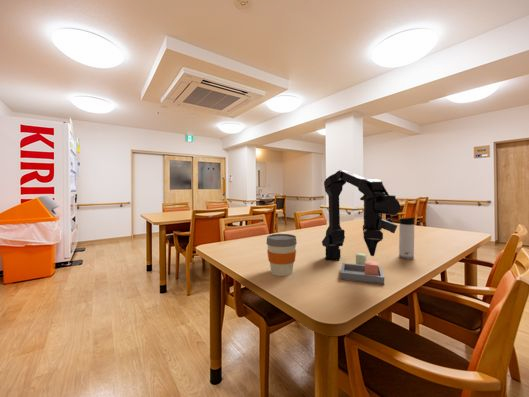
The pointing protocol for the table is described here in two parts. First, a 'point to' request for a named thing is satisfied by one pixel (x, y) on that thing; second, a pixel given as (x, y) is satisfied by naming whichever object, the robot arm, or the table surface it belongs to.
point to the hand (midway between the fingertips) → (371, 252)
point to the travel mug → (406, 238)
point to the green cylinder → (361, 259)
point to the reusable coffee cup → (281, 253)
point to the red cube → (371, 268)
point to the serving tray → (360, 274)
